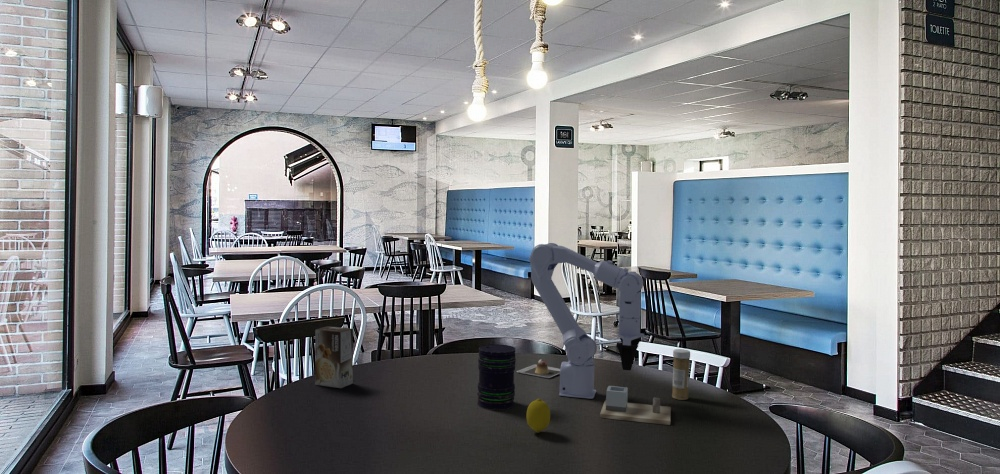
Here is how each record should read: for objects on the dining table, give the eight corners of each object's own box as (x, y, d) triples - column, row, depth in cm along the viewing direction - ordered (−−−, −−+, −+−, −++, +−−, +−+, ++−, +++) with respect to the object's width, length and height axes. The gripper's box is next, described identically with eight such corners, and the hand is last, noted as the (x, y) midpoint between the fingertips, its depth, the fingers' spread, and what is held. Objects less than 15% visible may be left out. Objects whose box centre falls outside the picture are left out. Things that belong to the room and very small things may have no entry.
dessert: (567, 373, 209) (567, 358, 209) (549, 381, 199) (549, 365, 199) (534, 367, 216) (535, 353, 216) (515, 374, 206) (516, 359, 206)
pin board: (599, 417, 163) (600, 399, 163) (604, 404, 175) (605, 387, 175) (670, 425, 159) (670, 406, 159) (670, 410, 171) (671, 393, 170)
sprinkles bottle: (692, 399, 182) (693, 351, 181) (680, 401, 179) (682, 352, 179) (679, 394, 186) (680, 347, 185) (668, 397, 183) (669, 349, 183)
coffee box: (353, 383, 189) (354, 328, 188) (340, 388, 183) (341, 332, 182) (327, 379, 192) (328, 325, 192) (313, 384, 187) (314, 329, 186)
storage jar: (520, 402, 175) (522, 346, 174) (505, 412, 166) (506, 353, 165) (487, 397, 179) (488, 342, 178) (470, 406, 170) (471, 349, 169)
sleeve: (605, 410, 166) (606, 390, 166) (607, 404, 171) (608, 385, 171) (625, 412, 165) (626, 392, 165) (627, 406, 170) (627, 387, 170)
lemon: (524, 428, 154) (525, 395, 153) (547, 428, 154) (548, 395, 154) (527, 437, 148) (528, 402, 148) (551, 437, 149) (552, 402, 148)
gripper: (643, 322, 169) (641, 374, 170) (646, 314, 183) (644, 362, 184) (615, 320, 171) (613, 371, 172) (621, 312, 185) (619, 359, 186)
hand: (628, 366), depth 178 cm, fingers open, 7 cm apart
